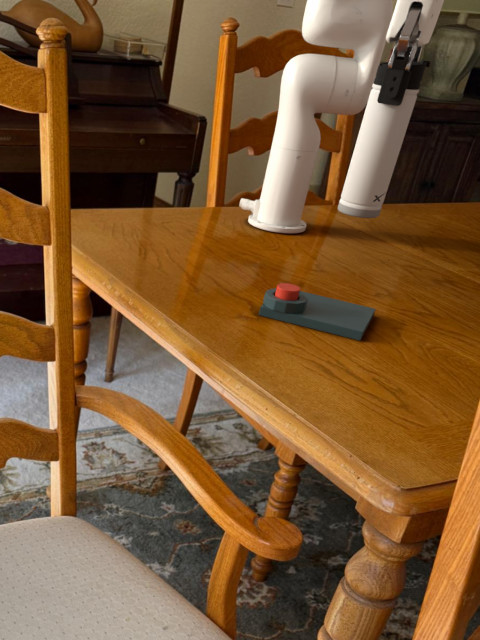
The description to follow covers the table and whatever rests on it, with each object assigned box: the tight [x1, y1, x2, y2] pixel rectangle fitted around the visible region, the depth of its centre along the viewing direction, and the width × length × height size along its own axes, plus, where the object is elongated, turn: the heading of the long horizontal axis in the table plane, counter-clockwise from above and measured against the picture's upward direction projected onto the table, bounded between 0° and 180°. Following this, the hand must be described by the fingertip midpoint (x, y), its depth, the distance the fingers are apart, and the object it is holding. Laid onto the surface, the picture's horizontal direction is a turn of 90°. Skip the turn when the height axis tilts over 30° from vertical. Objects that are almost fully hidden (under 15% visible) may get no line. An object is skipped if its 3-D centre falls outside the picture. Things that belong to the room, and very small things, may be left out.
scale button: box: [275, 282, 301, 301], centre depth 114 cm, size 4×4×2 cm
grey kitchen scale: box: [258, 287, 376, 341], centre depth 115 cm, size 16×12×3 cm
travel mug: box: [337, 59, 431, 219], centre depth 105 cm, size 6×7×20 cm
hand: (392, 100), depth 102 cm, fingers closed on travel mug, 6 cm apart
